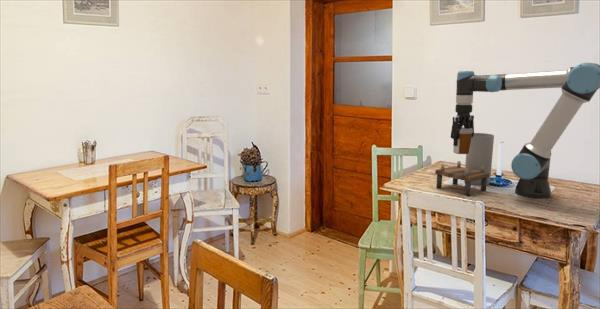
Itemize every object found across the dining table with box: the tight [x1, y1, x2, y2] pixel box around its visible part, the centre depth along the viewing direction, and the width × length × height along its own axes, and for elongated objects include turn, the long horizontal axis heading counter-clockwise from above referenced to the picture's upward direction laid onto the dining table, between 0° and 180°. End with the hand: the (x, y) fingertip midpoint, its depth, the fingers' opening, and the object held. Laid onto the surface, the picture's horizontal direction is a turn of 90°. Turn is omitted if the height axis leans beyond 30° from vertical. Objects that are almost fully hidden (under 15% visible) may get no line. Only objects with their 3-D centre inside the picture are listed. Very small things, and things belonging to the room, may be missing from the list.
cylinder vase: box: [464, 132, 495, 187], centre depth 241 cm, size 12×12×25 cm
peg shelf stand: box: [434, 160, 489, 197], centre depth 229 cm, size 19×16×12 cm
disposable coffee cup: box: [455, 126, 473, 155], centre depth 226 cm, size 10×10×12 cm
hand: (461, 151), depth 227 cm, fingers closed on disposable coffee cup, 8 cm apart
